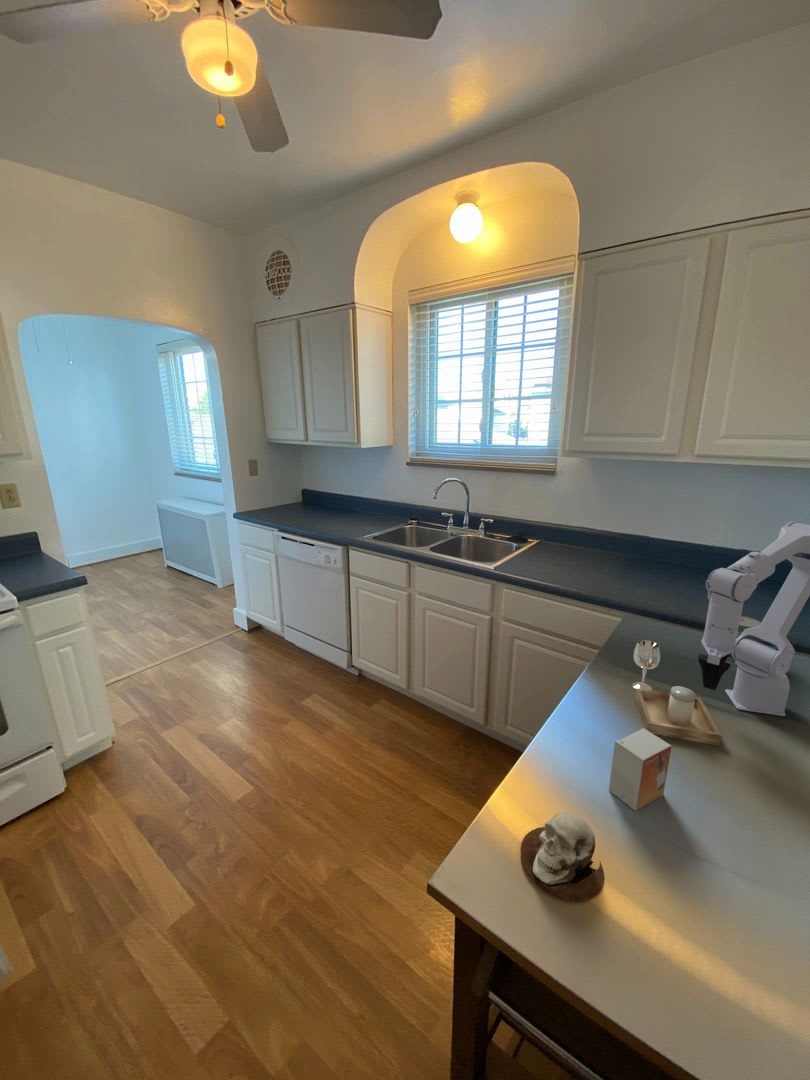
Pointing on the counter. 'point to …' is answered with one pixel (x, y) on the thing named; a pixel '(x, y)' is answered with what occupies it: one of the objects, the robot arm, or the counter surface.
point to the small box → (639, 768)
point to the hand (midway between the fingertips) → (711, 680)
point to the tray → (656, 722)
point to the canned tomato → (745, 627)
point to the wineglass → (646, 659)
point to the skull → (563, 857)
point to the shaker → (681, 706)
